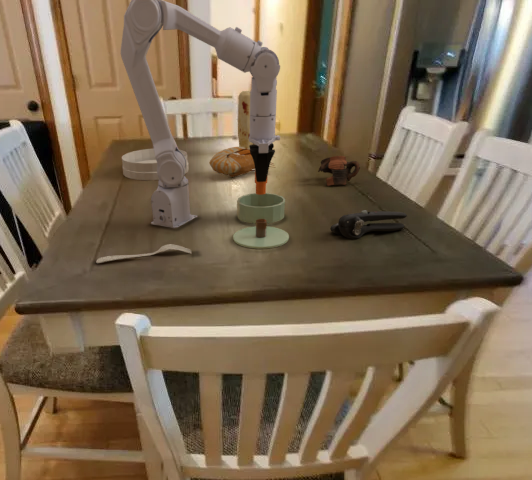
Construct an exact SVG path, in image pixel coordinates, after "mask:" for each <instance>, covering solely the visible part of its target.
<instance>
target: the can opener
mask: <svg viewBox="0 0 532 480" xmlns="http://www.w3.org/2000/svg"><path fill="white" fill-rule="evenodd" d="M407 217H408V215H407V214H406V213H405V212H401V211H385V210H383V211H382V210H380V211H379V210H378V211H376V210H375V211H368V210H365V209H364V210H361V211H360V212H355V213H347V214H343V215H342V216H341V217H340V218H339V219H338V222H337V223H335V224H332V225H331V226H330V228H329V230H330V231H331V232H332V233H334V234H336V235H338V236H343V237H344V238H347V239H351V240H357V239H359V238H361V237H362V236H363V235H364V234H366V233H369V232H396V231H400V230H403V229H404V228H406V226H405V224H404V223H402V222H379V221H389V220H403V219H406V218H407ZM366 222H370V223H366ZM373 222H374V223H373ZM375 222H376V223H375ZM365 223H366V224H365Z"/></svg>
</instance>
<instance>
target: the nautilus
mask: <svg viewBox="0 0 532 480" xmlns="http://www.w3.org/2000/svg"><path fill="white" fill-rule="evenodd" d="M274 158H275V159H276V158H277V157H275V156H274ZM208 163H209V166H210V167H211V169H212V170H213V172H216V173H218V174H221V175H224V176H228V177H230V178H236V177H237V178H238V177H239V176H241V175H246V174H248V173H250V172H255V165H254V161H253V158H252V156H251V153H250V149H249V148H244V147H239V146H233V147H228V148H224V149H222V150H220V151H218V152H216V153H215V154H214V155H212V157H211V158H210V159H209V162H208ZM270 165H271V166H270ZM270 165H269V168H272V166H273V168H274V169H276V166H275V163H274V162H272V161H271V162H270Z"/></svg>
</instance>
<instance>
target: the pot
mask: <svg viewBox="0 0 532 480" xmlns="http://www.w3.org/2000/svg"><path fill="white" fill-rule="evenodd" d="M285 212H286V198H285V197H284V196H283V195H281V194H277V193H270V192H266V193H265V194H263V195H258V194H256V192H252V193H247V194H243V195H241V196H239V197H238V198H237V200H236V217H237V219H238V220H239V221H241V222H245V223H249V224H253V225H256V220H258V219H265V220H267V224H274V223H277V222H279V221H281V220H283V219H284V218H285V214H286V213H285Z"/></svg>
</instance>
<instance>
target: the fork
mask: <svg viewBox="0 0 532 480" xmlns="http://www.w3.org/2000/svg"><path fill="white" fill-rule="evenodd" d="M169 250H175V251H180V252H184V253H188V254H191V255H192V252H191V249H190V248H187V247H185V246H181V245H178V244H173V243H168V244H164V245H162V246H161V247H159V249H158V250H156V251H153V252H149V253H141V254H139V253H138V254H119V255H106V256H102V257H99V258H97V259H96V264H103V263H106V262H113V261H117V260H118V261H119V260H125V259H133V258H142V257H150V256H154V255H157V254H159V253H163V252H165V251H169Z"/></svg>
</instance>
